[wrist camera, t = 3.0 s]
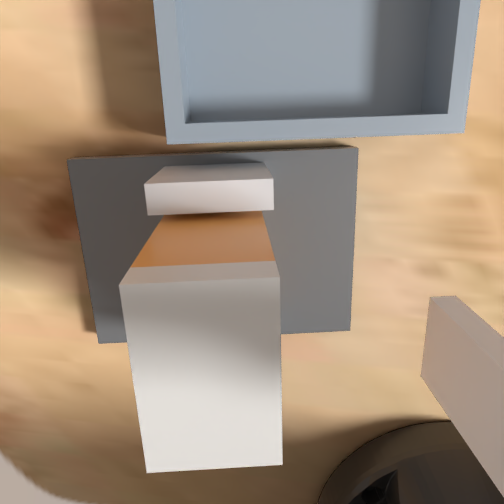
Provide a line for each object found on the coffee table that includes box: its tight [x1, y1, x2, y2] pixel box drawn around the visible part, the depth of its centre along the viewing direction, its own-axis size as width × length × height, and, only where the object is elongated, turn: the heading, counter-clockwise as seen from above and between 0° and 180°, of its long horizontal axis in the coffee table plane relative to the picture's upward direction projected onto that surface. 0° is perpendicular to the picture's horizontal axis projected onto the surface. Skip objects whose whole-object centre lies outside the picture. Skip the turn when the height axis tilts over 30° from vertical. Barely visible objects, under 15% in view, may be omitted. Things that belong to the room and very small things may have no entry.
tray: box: [153, 0, 481, 144], centre depth 18 cm, size 11×13×4 cm
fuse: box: [119, 211, 283, 473], centre depth 17 cm, size 6×4×11 cm, turn 2°
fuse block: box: [67, 146, 358, 344], centre depth 20 cm, size 10×14×6 cm
